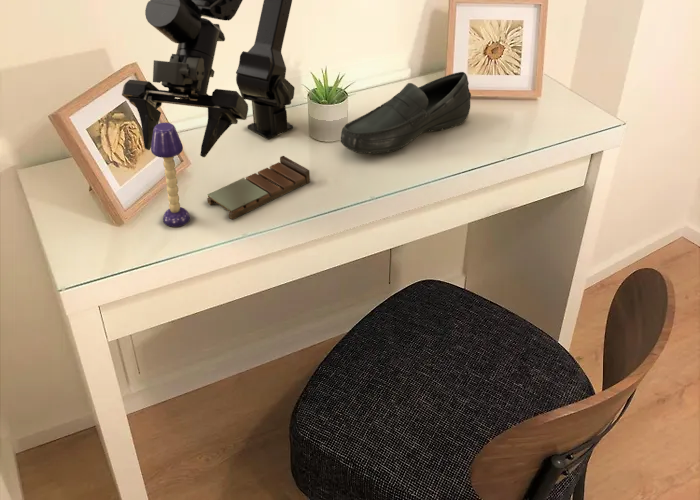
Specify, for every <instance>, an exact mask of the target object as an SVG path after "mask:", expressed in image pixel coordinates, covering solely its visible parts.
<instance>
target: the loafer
mask: <svg viewBox="0 0 700 500" xmlns="http://www.w3.org/2000/svg"><path fill="white" fill-rule="evenodd" d="M471 96H472V93H471V92H470V87H469V78H468V75H467V73H466V72H464V71H459V72H454V73H450V74H447V75H445V76H442V77H439V78H436V79H434V80H431V81H429V82H427V83H425V84H423V85H421V86H417V85H416V84H414V83H412V82H408V83H407V84H406V85H405V86H404V87H403V88H402V89H401V90H400V91H399V92H398V93H396V94H395V95H394V96H392V97H391V98H390V99H389V100H388V101H386V102H384V103H382V104H381V105H379V106H377V107H376V108H374V109H372V110H371V111H369V112H366V113H365V114H364V115H362V116H359V117H358V118H356V119H353V120H352V121H350V122H347V123H345V125H344V126H343V127H342V129H341V132H340V144H342V145H343V146H344V147H345V148H346V149H347V150H350V151H351V152H355V153H358V154H367V155H368V154H385V153H388V152H389V153H392V152H396V151H398V150H400V149H402V148H404V147H406V146H407V145H408V144H410V143H411V142H412V141H414V140H415V139H416V138H417V137H418V136H420V135H421V134H423V133H427V132H429V133H430V132H440V131H442V130H448V129H451V128H454V127H455V126H459V125H461V124H463V123H464V122H466V120H467V118H469V117H468V116H469V114H470V110H471V98H472V97H471Z"/></svg>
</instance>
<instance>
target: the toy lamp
mask: <svg viewBox="0 0 700 500" xmlns="http://www.w3.org/2000/svg"><path fill="white" fill-rule="evenodd" d="M183 149H184V145H183V143H182V141H181V138H180V135H179V133H178V131H177V129H176V126H175V124H173V123H171V122H160V123H158V124H157V125H156V126H155V127H154V130H153V137H152V144H151V148H150V152H151V154H152V155H154V156H155V157H158V158H162V159H163V168H164V175H165V176H164V177H165V184H166V192H167V201H168V207H169V208H168V209H166V211H165V212H164V214H163V217H162V222H163V224H164V225H166V226H168V227H170V228H179V227H183V226H185V225H187V224H188V223H189V222H190V220H191V215H190V213H189V212H188V210H187V209H186V208H184V207H181V203H180V195H179V186H178V178H177V170H176V161H175V159H174V158H175V157H176V156H179V155H181V153H182V152H183Z"/></svg>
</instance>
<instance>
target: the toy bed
mask: <svg viewBox="0 0 700 500" xmlns="http://www.w3.org/2000/svg"><path fill="white" fill-rule="evenodd" d="M310 183H311V173H310V169H308V168H307V167H305V166H303V165H301V164H300V163H298V162H296V161H294V160H292V159H290V158H288V157H287V156H285V155H281V156H279V161H278V162H276V163H274V164H271V165H270V166H269V167H266V168H263V169H261V170H259V171H257V172H254V173H251V174H250V175H247V176H246V177H245V178H244V177H242V178H240V179H238V180H236V181H233V182H232V183H230V184H227V185H225V186H222V187H220V188H218V189H217V190H213V191H212V192H209V193H208V194H207V197H206V201H207V204H208V205H210V206H213V205H215V204H217V205H219V206H220V207H222V208H223V209H224V210H226V211H228V212H227V213H228V218H229V219H231V220H232V221H233V220H235V219H237V218H239V217H241V216H243V215H245V214H247V213H249V212H251V211H253V210H255V209H257V208H259V207H261V206H263V205H266V204H267V203H270V202H272V201H274V200H276V199H278V198H280V197H282V196H284V195H286V194H288V193H290V192H292V191H294V190H296V189H298V188H301V187H302V186H304V185H308V184H310Z"/></svg>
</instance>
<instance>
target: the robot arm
mask: <svg viewBox="0 0 700 500" xmlns="http://www.w3.org/2000/svg"><path fill="white" fill-rule="evenodd" d="M243 1H244V0H148V1H147V3H146V6H145V11H144V14H145V19H146V22H147V23H148V24H150V25H151V26H152V27H153V28H154V29H156V30H157V31H158V32H159V33H161V34H162V35H163V36H165V37H166V38H167V39H168V40H169V41H171V42H172V43H175V44H177V48H176V53H171V55H170V57H169V61H166V60H156V59H154V60H153V68H152V82H151V81H148V80H138V79H129V80H127V81H126V82H124V84H123V87H122V92H121V96H122V97H123V98H124V99H126V100H127V101H128V102H129V103H130V104H131V105H132V106H134V107H135V108H136V110H137V112H138V116H139V120H140V124H141V132H142V138H143V139H142V140H143V146H144V149H145V150H147V151H151V144H152V137H153V130H154V127H155V126H156V125H157V124H159V122H160V118H161V115H162V111H160V110H159V108H160V107H162V105H163V104H168V105H169V104H170V105H180V106H188V107H197V108H205V109H207V123H206V128H205V131H204V135H203V138H202V142H201V145H200V146H201V147H200V154H199V155H200V157H202V158H206V157H207V155H208V154H209V152H211V150H212V149H213V148H214V146H215V145H216V143H217V142H218V141H219V139H220V138H221V136H223V135H224V133H225V132H226V131H227V130H228V129H229V128H230V127H231V126H232V125H237V124H238V122H239V121H238V120H241V121H245V120H247V118H248V112H249V103H248V102H247V101H251V108H252V118H253V122H252V123H250V124H248V125H247V129H248V130H250V131H252V132H254V133H255V134H257V135H258V136H260V137H263V138H264V139H266V140H270V139H272V138H274V137H276V136H279V135H282V134H284V133H286V132H288V131H290V130H293V129H294V125H293V124H291V123H289V122H288V113H287V112H288V111H287V108H286V106H290V105H291V104H292V100H293V99H294V97H295V89H296V88H295V86H294V85H293V84H292V83H291V82H290V81H288V79H287V78H286V75H287V74H286V73H287V67H286V66H287V65H286V63H285V61H284V57H283V53H282V49H283V45H284V40H285V35H286V31H287V27H288V22H289V17H290V13H291V9H292V4H293V0H263V3H262V8H261V10H260V16H259V21H258V26H257V30H256V35H255V40H254V43H253V45H252V46H251V48H250V49H249V50H248V51H243V50H242V52H241V53H240V55H239V62H238V66H237V69H236V71H235V74H236V76H235V82H236V86H237V88H238V91H239V92H238V91H237V90H230V89H221V88H215V89H214V90H213V91H212V93H211V95H210V94H209V93H208V89H209V83H210V78H214V76H215V70H214V69H213V65H214V59H215V55H216V50H217V46H218V42H225V41H226V37H225V33H224V32H223V31H222V29H221V25H220V24H219V23H213V22H212V21H211V20H210V19H215V20H220V21H230V20H232V19H233V18H234V17H235V16H236V14H237V12H238V11H239V8H240V7H241V4H242V3H243ZM208 18H210V19H208ZM154 83H158V84H159V83H161V86H163V87H164V88H167V90H164V89H159V88H158V87H156V86H155V85H154ZM246 100H247V101H246Z"/></svg>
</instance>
